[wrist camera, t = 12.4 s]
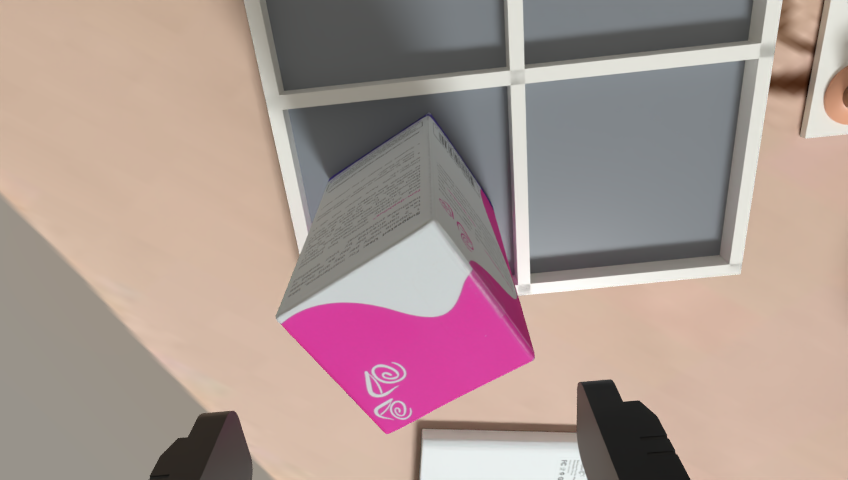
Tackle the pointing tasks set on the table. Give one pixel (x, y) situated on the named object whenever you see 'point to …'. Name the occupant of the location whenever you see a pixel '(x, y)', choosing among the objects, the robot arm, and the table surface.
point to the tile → (829, 76)
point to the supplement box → (406, 281)
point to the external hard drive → (499, 455)
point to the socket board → (541, 119)
